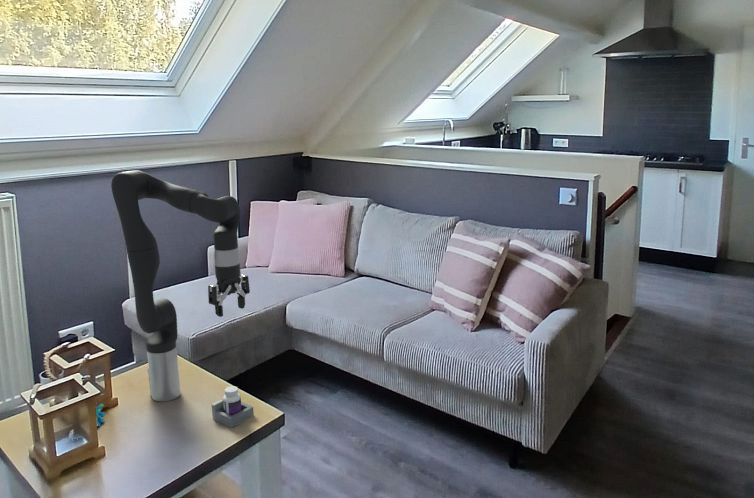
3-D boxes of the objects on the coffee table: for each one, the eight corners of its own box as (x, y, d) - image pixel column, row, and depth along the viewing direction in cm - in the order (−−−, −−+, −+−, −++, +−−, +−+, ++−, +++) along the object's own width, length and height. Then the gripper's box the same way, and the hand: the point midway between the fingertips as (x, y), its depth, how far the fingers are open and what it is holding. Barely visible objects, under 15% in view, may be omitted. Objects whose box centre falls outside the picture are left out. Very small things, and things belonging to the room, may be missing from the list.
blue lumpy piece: (88, 431, 183) (68, 404, 184) (77, 442, 184) (57, 415, 186) (114, 417, 193) (96, 392, 194) (104, 427, 195) (85, 402, 196)
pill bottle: (245, 414, 195) (243, 386, 192) (236, 422, 190) (234, 394, 187) (230, 411, 196) (228, 383, 194) (221, 420, 191) (218, 391, 189)
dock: (212, 418, 192) (211, 404, 191) (234, 406, 199) (233, 392, 198) (231, 427, 187) (230, 413, 186) (253, 415, 194) (252, 401, 192)
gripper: (237, 255, 195) (240, 303, 200) (200, 265, 184) (204, 316, 189) (253, 258, 191) (256, 307, 195) (216, 269, 180) (220, 321, 184)
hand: (230, 312), depth 192 cm, fingers open, 8 cm apart
